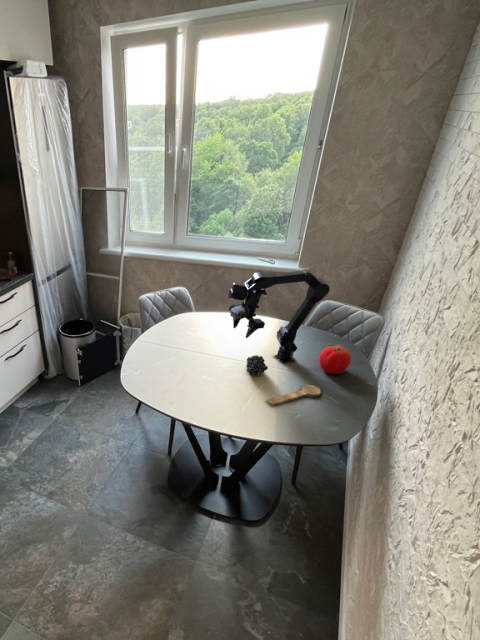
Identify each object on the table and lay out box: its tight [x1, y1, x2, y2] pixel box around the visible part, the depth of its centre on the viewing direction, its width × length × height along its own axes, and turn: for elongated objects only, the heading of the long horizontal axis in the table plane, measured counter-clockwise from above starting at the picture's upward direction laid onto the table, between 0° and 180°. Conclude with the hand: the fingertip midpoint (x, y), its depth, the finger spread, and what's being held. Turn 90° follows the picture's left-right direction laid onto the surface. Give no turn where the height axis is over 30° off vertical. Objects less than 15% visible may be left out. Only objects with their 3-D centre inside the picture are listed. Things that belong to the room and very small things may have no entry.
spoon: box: [267, 384, 322, 407], centre depth 164 cm, size 24×7×1 cm, turn 109°
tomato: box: [318, 344, 352, 375], centre depth 176 cm, size 12×13×12 cm
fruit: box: [246, 354, 269, 377], centre depth 179 cm, size 9×8×15 cm
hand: (240, 332), depth 184 cm, fingers open, 9 cm apart
